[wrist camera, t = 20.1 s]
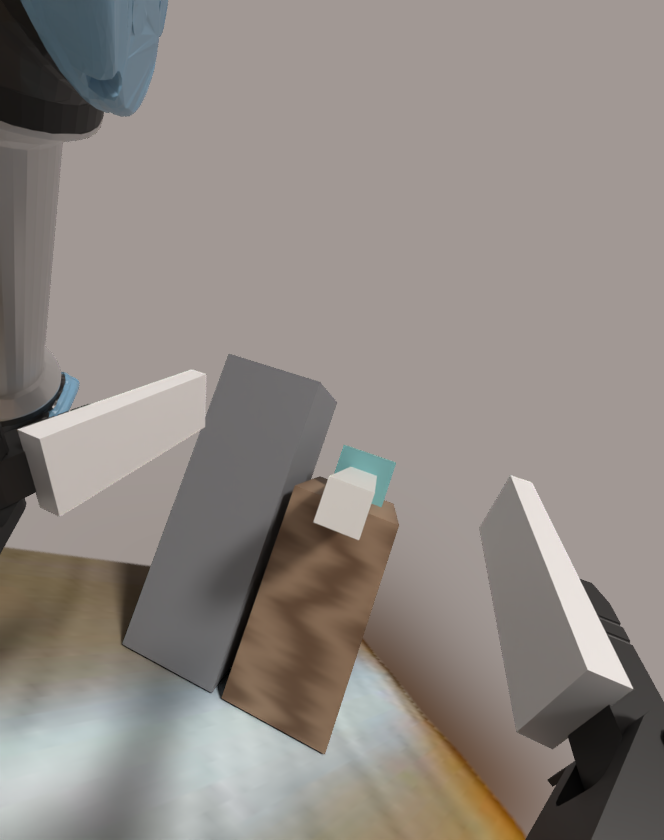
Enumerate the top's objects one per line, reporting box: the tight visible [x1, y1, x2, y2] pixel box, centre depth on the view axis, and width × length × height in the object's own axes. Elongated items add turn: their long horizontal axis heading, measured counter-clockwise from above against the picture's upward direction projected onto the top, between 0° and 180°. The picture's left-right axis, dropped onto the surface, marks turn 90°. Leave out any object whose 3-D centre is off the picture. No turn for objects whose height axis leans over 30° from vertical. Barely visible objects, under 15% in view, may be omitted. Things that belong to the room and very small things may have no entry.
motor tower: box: [122, 354, 337, 693], centre depth 36 cm, size 10×12×30 cm
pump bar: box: [314, 445, 396, 540], centre depth 29 cm, size 6×21×5 cm, turn 170°
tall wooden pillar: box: [222, 477, 399, 754], centre depth 33 cm, size 10×12×20 cm
